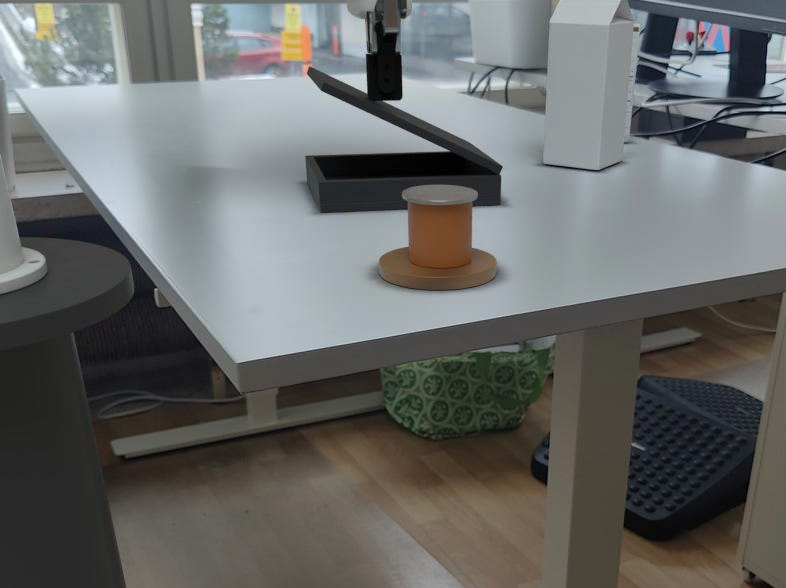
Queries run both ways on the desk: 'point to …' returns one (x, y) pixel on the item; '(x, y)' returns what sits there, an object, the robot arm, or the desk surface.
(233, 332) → the desk surface
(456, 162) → the tray
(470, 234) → the coffee pod
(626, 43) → the milk carton
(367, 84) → the robot arm
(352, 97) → the holder lid
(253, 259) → the desk surface
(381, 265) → the coaster
